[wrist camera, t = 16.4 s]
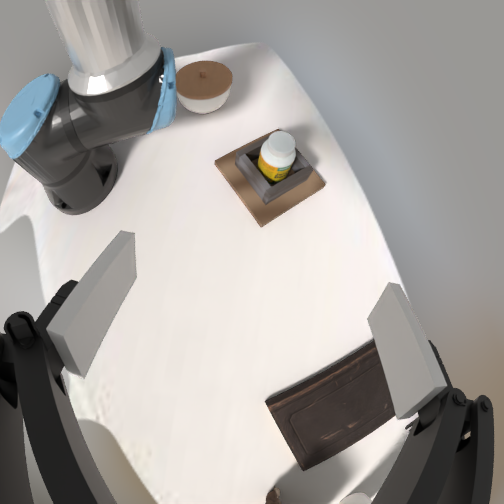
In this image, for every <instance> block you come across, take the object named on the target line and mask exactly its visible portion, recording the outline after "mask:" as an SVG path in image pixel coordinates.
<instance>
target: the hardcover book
mask: <svg viewBox="0 0 504 504" xmlns="http://www.w3.org/2000/svg"><path fill="white" fill-rule="evenodd" d="M265 403H266V405H267V407H268V409H269V411H270V413H271V414H272V416H273V418H274V420H275V422H276V424H277V426H278V428H279V429H280V431H281V433H282V435H283V437H284V439H285V440H286V442H287V444H288V446H289V448H290V449H291V451H292V453H293V455H294V457H295V458H296V460H297V462H298V464H299V465H300V467H301V469H302V471H305V470H307V469H309V468H311V467H313V466H315V465H317V464H319V463H321V462H323V461H325V460H327V459H329V458H330V457H332V456H334V455H336V454H338V453H339V452H341V451H343V450H344V449H346V448H348V447H350V446H351V445H353V444H354V443H356V442H358V441H359V440H361V439H362V438H364V437H365V436H367V435H369V434H370V433H372V432H373V431H374V430H376V429H377V428H379V427H380V426H382V425H383V424H384V423H386V422H387V421H389V420H390V419H391V418H393V417H394V416H395V415H396V413H395V409H394V405H393V401H392V398H391V394H390V390H389V387H388V383H387V379H386V376H385V373H384V369H383V366H382V363H381V359H380V356H379V353H378V350H377V347H376V344H375V340H374V341H373V342H371V343H370V344H368V345H367V346H365V347H363V348H362V349H360V350H359V351H357V352H356V353H354V354H352V355H351V356H349V357H347V358H346V359H344V360H343V361H341V362H339V363H337V364H336V365H334V366H332V367H331V368H329V369H327V370H325V371H324V372H322V373H320V374H318V375H316V376H315V377H313V378H311V379H309V380H307V381H305V382H303V383H301V384H299V385H298V386H296V387H294V388H292V389H290V390H288V391H286V392H284V393H281V394H279V395H277V396H275V397H273V398H271V399H269V400H267V401H265Z"/></svg>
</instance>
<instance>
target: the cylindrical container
mask: <svg viewBox="0 0 504 504" xmlns="http://www.w3.org/2000/svg"><path fill="white" fill-rule="evenodd" d="M371 503H372V500H371V499H370V498H369V497H368V496H367V495H366V494H365V493H363V492H357V493H353V494H351V495H349V496H347V497H345V498H344V499H343V500H342V501H340V503H339V504H371Z"/></svg>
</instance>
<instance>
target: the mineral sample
mask: <svg viewBox="0 0 504 504" xmlns="http://www.w3.org/2000/svg"><path fill="white" fill-rule="evenodd" d="M279 495H280V490H279V488H275V487H274V490H273V491H271V492H270V493H268V494H267V496H266V503H265V504H282V503H281V501H280V500H279Z"/></svg>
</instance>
